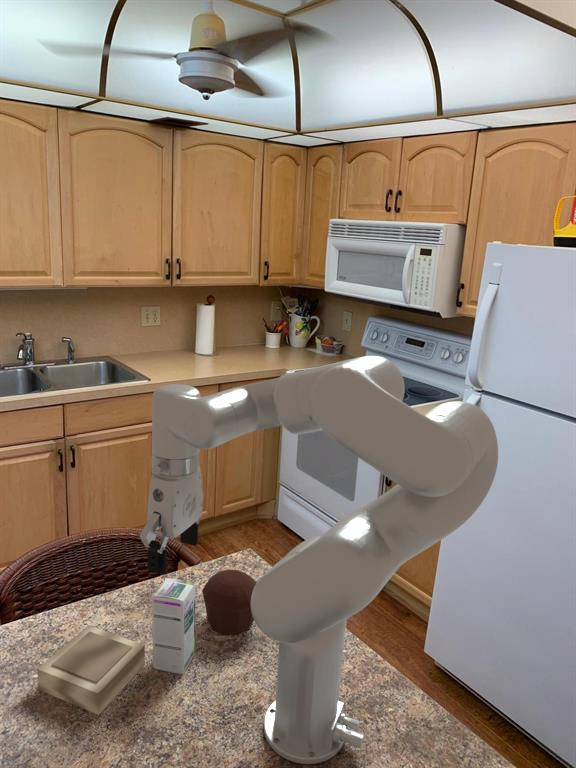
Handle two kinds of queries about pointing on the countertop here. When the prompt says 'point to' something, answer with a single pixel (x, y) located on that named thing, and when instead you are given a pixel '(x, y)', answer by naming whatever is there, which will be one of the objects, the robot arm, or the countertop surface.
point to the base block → (91, 669)
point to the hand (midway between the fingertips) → (173, 556)
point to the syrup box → (173, 625)
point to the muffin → (229, 602)
